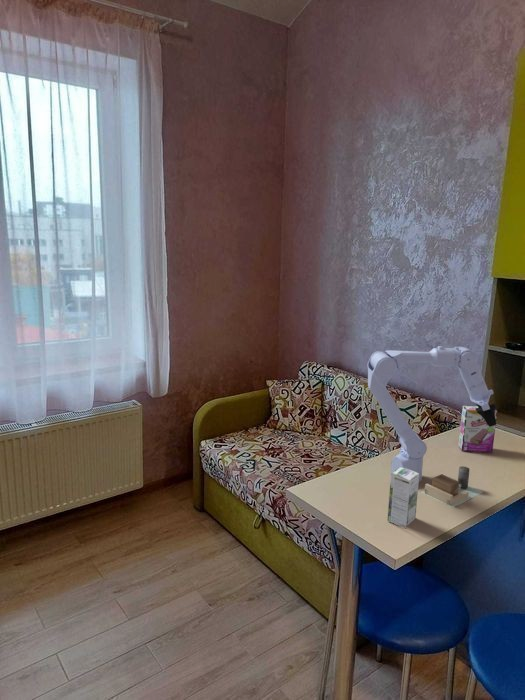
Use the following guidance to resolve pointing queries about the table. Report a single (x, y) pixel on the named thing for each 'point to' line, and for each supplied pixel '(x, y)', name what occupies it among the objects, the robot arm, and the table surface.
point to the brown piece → (452, 481)
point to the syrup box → (403, 497)
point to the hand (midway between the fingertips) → (489, 419)
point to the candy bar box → (475, 431)
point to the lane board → (448, 498)
